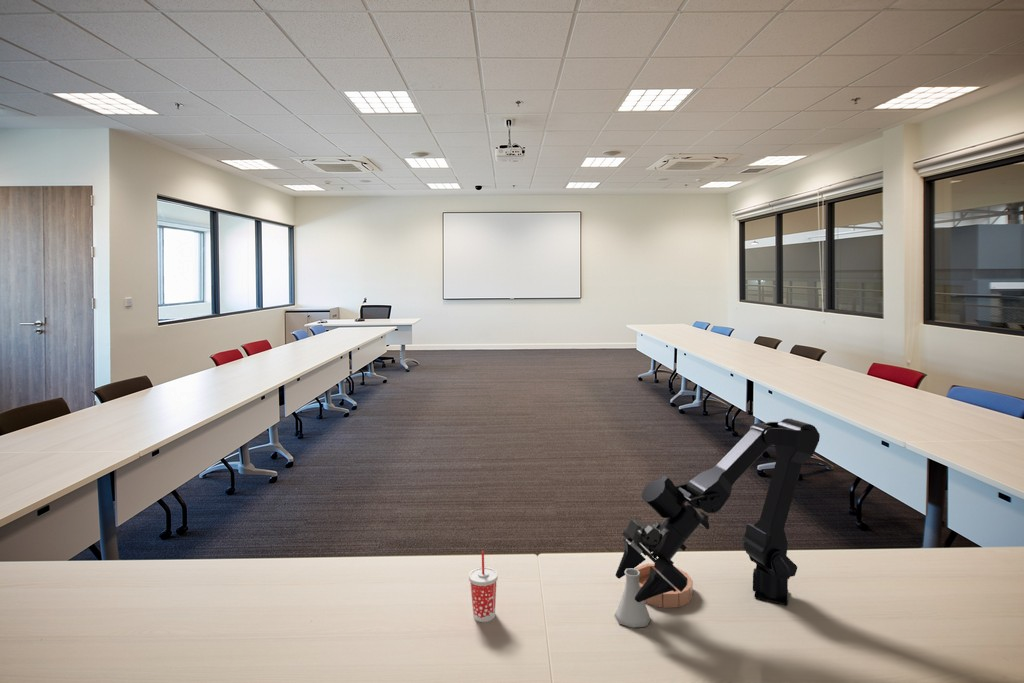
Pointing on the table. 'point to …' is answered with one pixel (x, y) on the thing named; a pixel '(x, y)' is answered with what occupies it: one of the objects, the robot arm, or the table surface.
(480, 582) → the beverage cup
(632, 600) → the flask
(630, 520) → the robot arm
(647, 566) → the bowl
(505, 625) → the table surface
